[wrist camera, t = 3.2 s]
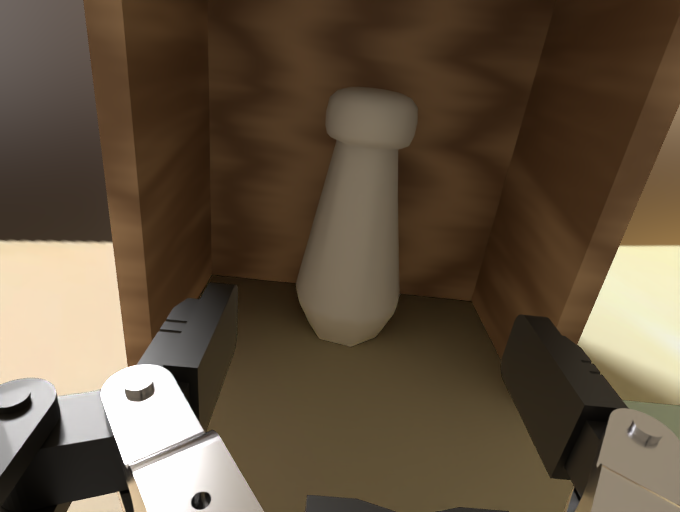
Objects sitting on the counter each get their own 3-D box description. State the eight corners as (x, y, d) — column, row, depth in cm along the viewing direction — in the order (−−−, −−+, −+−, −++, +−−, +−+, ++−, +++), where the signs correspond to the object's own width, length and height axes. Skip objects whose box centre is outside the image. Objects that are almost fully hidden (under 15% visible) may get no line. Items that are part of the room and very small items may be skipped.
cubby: (483, 293, 31) (583, -46, 22) (548, 410, 21) (774, -119, 12) (198, 264, 30) (188, -101, 22) (128, 371, 20) (55, -226, 12)
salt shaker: (383, 367, 23) (434, 104, 17) (278, 341, 24) (295, 84, 18) (397, 310, 28) (441, 94, 22) (311, 290, 29) (332, 79, 23)
